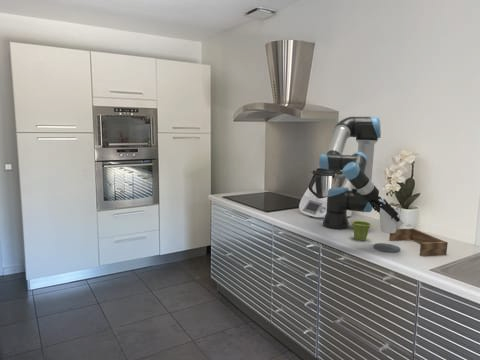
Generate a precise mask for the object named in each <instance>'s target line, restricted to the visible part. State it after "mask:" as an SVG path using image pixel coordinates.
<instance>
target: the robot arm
mask: <svg viewBox="0 0 480 360" xmlns="http://www.w3.org/2000/svg"><path fill="white" fill-rule="evenodd" d="M381 133H382V131H381V119H380V118H379V117H377V116H348V117H346V118H343V119H342V120H340V121H339V122H338V123H336V124H335V126H334V128H333V130H332V134H333V135H332V137H331V140H330V143H329V147H328V148H327V151H326V153H322V154H320V156H319V158H318V159H319V162H318V165H319V168H320V169H323V170H333V171H341V172H342V175H344V177H345V178H346V180H348V181H349V182H350V184H351V185H352V187H351V189H352V190H350V189H349V188H348V187H347V186H341V187H340V186H338V187H332V188H329V189H328V191H327V195H326V212H325V215H324V218H323V220H322V226H323V227H324V228H327V229H333V230H346V229H348V228H349V225H350V222H349V220H348V219H349V218H348V213H347V212H348V211H353V212H362V213H370V212H372V211H373V210H374V211H375V212H376V213H378V214H379V215H380V208H382V209H383V210H384V211H385V212H386V213H388V214H389V215H390V216H391V219H392V220H393V221H394V222H395V223H396V224H397V227H398V228H401V227H402V226H403V225H404V224H405V223H404V222H403V220H402V219H401V218H400V217H398V216H397V215H398V213H397V212H396V211H395V210H394V209H393V208H392V207H391V206H392V205H390V204H389V203H388V201H387V199H385V198H382V197H381V196H379V194H380V190H379V189H378V188H377V187H376V185H374V182H372V178H373V165H374V156H375V155H374V154H375V153H374V152H375V144H376V143H377V142H378V141H379V139H380V138H382V137H381V135H382V134H381ZM349 138H355V141H356V142H357V144H358V145H357V151H356V152H354V153H352V155H351V154H344V153H343V152H344V149H345V146H346V143H347V140H348V139H349Z"/></svg>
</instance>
